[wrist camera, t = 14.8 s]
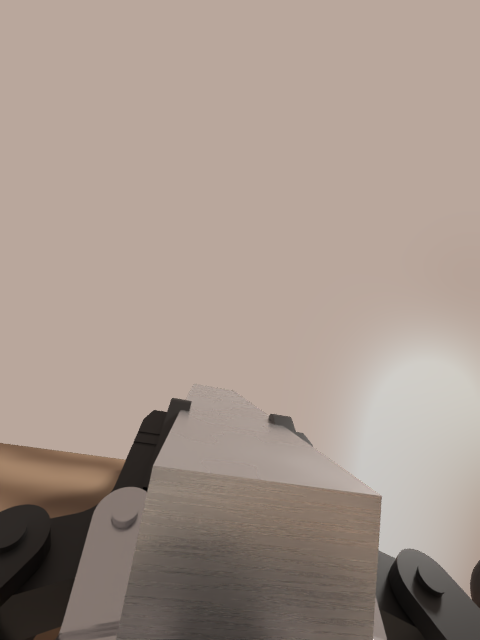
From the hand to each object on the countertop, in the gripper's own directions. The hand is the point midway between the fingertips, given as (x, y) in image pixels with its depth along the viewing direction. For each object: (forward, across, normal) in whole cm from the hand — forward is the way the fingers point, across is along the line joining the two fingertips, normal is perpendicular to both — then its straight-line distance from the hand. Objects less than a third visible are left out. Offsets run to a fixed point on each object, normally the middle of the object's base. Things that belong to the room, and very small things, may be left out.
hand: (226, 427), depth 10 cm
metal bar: (+1, 0, +5) cm, 5 cm away
